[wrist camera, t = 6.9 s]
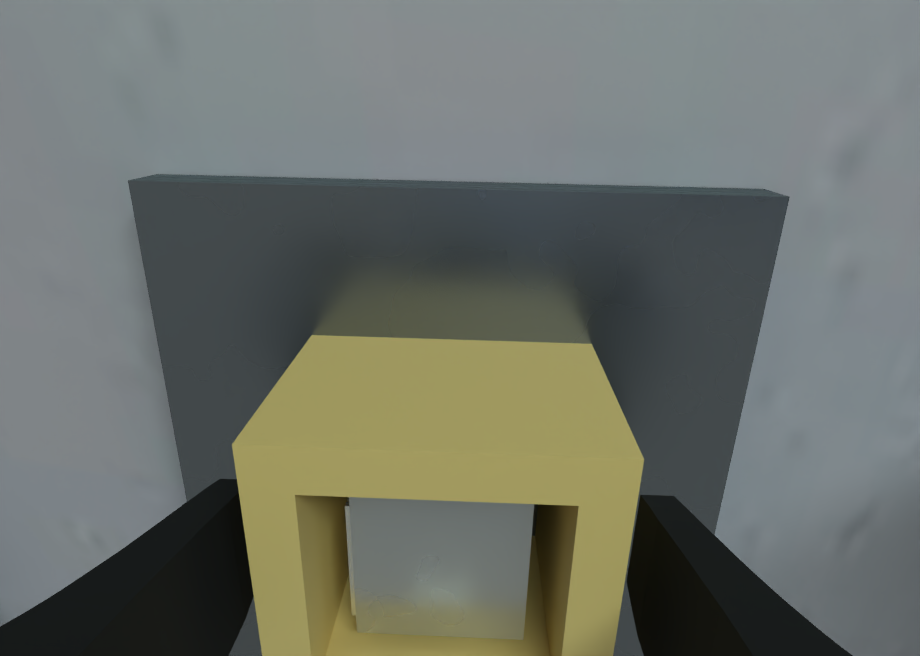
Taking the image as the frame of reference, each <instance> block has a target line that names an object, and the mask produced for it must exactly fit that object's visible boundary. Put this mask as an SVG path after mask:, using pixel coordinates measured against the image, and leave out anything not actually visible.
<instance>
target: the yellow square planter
mask: <svg viewBox="0 0 920 656" xmlns="http://www.w3.org/2000/svg"><path fill="white" fill-rule="evenodd" d="M232 449H233V456H234V463H235V470H236V477H237V484H238V491H239V498H240V505H241V512H242V519H243V525H244V532H245V539H246V546H247V553H248V560H249V567H250V574H251V581H252V588H253V595H254V602H255V609H256V616H257V623H258V630H259V637H260V644H261V651H262V656H613V653H614V647H615V640H616V634H617V628H618V621H619V615H620V609H621V602H622V596H623V590H624V583H625V577H626V571H627V565H628V558H629V552H630V546H631V539H632V533H633V527H634V520H635V514H636V508H637V501H638V495H639V489H640V483H641V476H642V470H643V464H644V458H643V456H642V453H641V451H640V449H639V447H638V445H637V442H636V440H635V438H634V436H633V434H632V431H631V429H630V427H629V425H628V423H627V420H626V418H625V416H624V414H623V412H622V409H621V407H620V405H619V403H618V401H617V398H616V396H615V394H614V392H613V390H612V387H611V385H610V383H609V381H608V379H607V376H606V374H605V372H604V370H603V368H602V365H601V363H600V361H599V359H598V357H597V354H596V352H595V350H594V348H593V346H592V344H581V343H549V342H517V341H485V340H453V339H421V338H389V337H357V336H325V335H311V337H310V338H309V339H308V341H307V342H306V344H305V345H304V346H303V348H302V349H301V350H300V352H299V353H298V355H297V356H296V357H295V359H294V360H293V361H292V363H291V364H290V365H289V367H288V368H287V370H286V371H285V372H284V374H283V375H282V376H281V378H280V379H279V381H278V382H277V383H276V385H275V386H274V387H273V389H272V390H271V391H270V393H269V394H268V396H267V397H266V398H265V400H264V401H263V402H262V404H261V405H260V407H259V408H258V409H257V411H256V412H255V413H254V415H253V416H252V417H251V419H250V420H249V422H248V423H247V424H246V426H245V427H244V428H243V430H242V431H241V433H240V434H239V435H238V437H237V438H236V439H235V441H234V442H233V443H232ZM348 497H361V498H386V499H412V500H438V501H464V502H490V503H516V504H538V509H537V521H536V533H535V536H532V538H531V551H530V563H529V576H528V588H527V601H526V613H525V626H524V638H523V640H516V639H493V638H471V637H448V636H426V635H403V634H381V633H358V632H357V624H356V615H352V609H351V594H350V578H349V563H348V547H347V531H346V516H345V504H346V501H347V498H348Z"/></svg>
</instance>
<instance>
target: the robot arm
mask: <svg viewBox="0 0 920 656" xmlns="http://www.w3.org/2000/svg"><path fill="white" fill-rule="evenodd" d="M626 582H627V587H628V592H629V597H630V602H631V607H632V613H633V617H634V622H635V627H636V631H637V636H638V639H639V642H640V646H641V649H642V652H643V655H644V656H852V655H851V654H849V653H848V652H847V651H845V650H844V649H843V648H841V647H840V646H839V645H838V644H836V643H835V642H834V641H833V640H831V639H830V638H829V637H828V636H826V635H825V634H824V633H823V632H821V631H820V630H819V629H818V628H816V627H815V626H814V625H813V624H812V623H811V622H809V621H808V620H807V619H806V618H805V617H803V616H802V615H801V614H800V613H799V612H798V611H796V610H795V609H794V608H793V607H792V606H790V605H789V604H788V603H787V602H786V601H785V600H783V599H782V598H781V597H780V596H779V595H778V594H777V593H776V592H774V591H773V590H772V589H771V588H770V587H769V586H768V585H767V584H765V583H764V582H763V581H762V580H761V579H760V578H759V577H758V576H757V575H756V574H754V573H753V572H752V571H751V570H750V569H749V568H748V567H747V566H746V565H745V564H744V563H743V562H742V561H741V560H739V559H738V558H737V557H736V556H735V555H734V554H733V553H732V552H731V551H730V550H729V549H728V548H727V547H726V546H725V545H724V544H723V543H722V542H721V541H720V540H719V539H718V538H717V537H716V536H715V535H714V534H713V533H712V532H711V531H710V530H708V529H707V528H706V527H705V526H704V525H703V524H702V523H701V522H700V521H699V520H698V519H697V518H696V517H695V516H694V515H693V514H692V513H691V512H690V511H689V510H688V509H687V508H686V507H685V506H684V505H683V504H682V503H681V502H680V501H679V500H678V499H677V498H676V497H675V496H664V495H640V499H639V506H638V512H637V518H636V524H635V531H634V537H633V543H632V549H631V556H630V562H629V568H628V575H627V581H626ZM253 597H254V595H253V588H252V581H251V574H250V567H249V560H248V553H247V546H246V539H245V532H244V525H243V519H242V512H241V505H240V498H239V491H238V484H237V479H219V480H217V481H216V482H214V483H213V484H211V485H210V486H208V487H207V488H206V489H204V490H203V491H201V492H200V493H199V494H197V495H196V496H194V497H193V498H192V499H190V500H189V501H188V502H186V503H185V504H184V505H182V506H181V507H180V508H178V509H177V510H176V511H174V512H173V513H172V514H170V515H169V516H167V517H166V518H165V519H163V520H162V521H161V522H159V523H158V524H157V525H155V526H154V527H152V528H151V529H150V530H148V531H147V532H145V533H144V534H143V535H141V536H140V537H139V538H137V539H136V540H134V541H133V542H132V543H130V544H129V545H128V546H126V547H125V548H123V549H122V550H121V551H119V552H118V553H116V554H115V555H113V556H112V557H110V558H109V559H107V560H106V561H104V562H103V563H101V564H100V565H98V566H97V567H95V568H94V569H92V570H91V571H89V572H88V573H86V574H85V575H83V576H82V577H80V578H79V579H77V580H76V581H74V582H73V583H71V584H70V585H68V586H67V587H65V588H64V589H62V590H61V591H59V592H58V593H56V594H54V595H53V596H51V597H50V598H48V599H47V600H45V601H43V602H42V603H40V604H38V605H37V606H35V607H33V608H32V609H30V610H28V611H27V612H25V613H23V614H22V615H20V616H18V617H16V618H15V619H13V620H11V621H9V622H8V623H6V624H4V625H3V626H1V627H0V656H229V654H230V651H231V649H232V647H233V645H234V643H235V641H236V639H237V637H238V635H239V632H240V630H241V628H242V626H243V624H244V622H245V619H246V617H247V614H248V611H249V608H250V605H251V602H252V600H253Z"/></svg>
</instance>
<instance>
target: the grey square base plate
mask: <svg viewBox="0 0 920 656" xmlns="http://www.w3.org/2000/svg"><path fill="white" fill-rule="evenodd" d="M128 183H129V189H130V194H131V200H132V205H133V211H134V216H135V221H136V227H137V232H138V238H139V243H140V249H141V254H142V259H143V265H144V270H145V276H146V281H147V287H148V292H149V297H150V303H151V308H152V314H153V319H154V325H155V330H156V335H157V341H158V346H159V352H160V357H161V363H162V368H163V373H164V379H165V384H166V390H167V395H168V401H169V406H170V411H171V417H172V422H173V428H174V433H175V439H176V444H177V450H178V455H179V460H180V466H181V471H182V477H183V482H184V488H185V493H186V498H187V502H188V501H189V500H190V499H192V498H193V497H194V496H196V495H197V494H199V493H200V492H201V491H203V490H204V489H206V488H207V487H208V486H210V485H211V484H213V483H214V482H216V481H217V480H219V479H237V477H236V470H235V463H234V456H233V449H232V443H233V442H234V441H235V439H236V438H237V437H238V435H239V434H240V433H241V431H242V430H243V428H244V427H245V426H246V424H247V423H248V422H249V420H250V419H251V417H252V416H253V415H254V413H255V412H256V411H257V409H258V408H259V407H260V405H261V404H262V402H263V401H264V400H265V398H266V397H267V396H268V394H269V393H270V391H271V390H272V389H273V387H274V386H275V385H276V383H277V382H278V381H279V379H280V378H281V376H282V375H283V374H284V372H285V371H286V370H287V368H288V367H289V365H290V364H291V363H292V361H293V360H294V359H295V357H296V356H297V355H298V353H299V352H300V350H301V349H302V348H303V346H304V345H305V344H306V342H307V341H308V339H309V338H310V337H311V335H325V336H357V337H389V338H421V339H453V340H485V341H517V342H549V343H581V344H592V346H593V348H594V350H595V352H596V354H597V357H598V359H599V361H600V363H601V365H602V368H603V370H604V372H605V374H606V376H607V379H608V381H609V383H610V385H611V387H612V390H613V392H614V394H615V396H616V398H617V401H618V403H619V405H620V407H621V409H622V412H623V414H624V416H625V418H626V420H627V423H628V425H629V427H630V429H631V431H632V434H633V436H634V438H635V440H636V442H637V445H638V447H639V449H640V451H641V453H642V456H643V458H644V464H643V470H642V476H641V483H640V489H639V495H638V501H637V508H636V514H635V520H634V527H633V533H632V539H631V546H630V552H629V558H628V565H627V571H626V577H625V583H624V590H623V596H622V602H621V609H620V615H619V621H618V628H617V634H616V640H615V647H614V653H613V656H644V655H643V652H642V649H641V646H640V642H639V639H638V636H637V631H636V627H635V622H634V617H633V613H632V607H631V602H630V597H629V592H628V587H627V582H626V581H627V575H628V568H629V562H630V556H631V549H632V543H633V537H634V531H635V524H636V518H637V512H638V506H639V499H640V495H664V496H675V497H676V498H677V499H678V500H679V501H680V502H681V503H682V504H683V505H684V506H685V507H686V508H687V509H688V510H689V511H690V512H691V513H692V514H693V515H694V516H695V517H696V518H697V519H698V520H699V521H700V522H701V523H702V524H703V525H704V526H705V527H706V528H707V529H708V530H710V531H711V532H712V533H713V534H715V529H716V525H717V520H718V516H719V511H720V507H721V502H722V498H723V493H724V489H725V484H726V480H727V475H728V471H729V466H730V462H731V457H732V453H733V448H734V444H735V439H736V435H737V430H738V426H739V421H740V417H741V412H742V408H743V403H744V399H745V394H746V390H747V385H748V381H749V376H750V372H751V367H752V363H753V358H754V354H755V349H756V345H757V341H758V336H759V332H760V327H761V323H762V318H763V314H764V309H765V305H766V300H767V296H768V291H769V287H770V282H771V278H772V273H773V269H774V264H775V260H776V255H777V251H778V246H779V242H780V237H781V233H782V228H783V224H784V219H785V215H786V210H787V206H788V201H789V197H788V196H785V195H782V194H778V193H775V192H772V191H769V190H765V189H738V188H697V187H656V186H615V185H574V184H533V183H492V182H451V181H410V180H368V179H327V178H286V177H245V176H204V175H163V174H156V175H151V176H147V177H142V178H138V179H133V180H129V181H128ZM537 509H538V504H516V503H490V502H464V501H438V500H412V499H386V498H361V497H348V498H347V501H346V504H345V516H346V531H347V547H348V563H349V578H350V594H351V609H352V615H356V624H357V632H358V633H381V634H403V635H426V636H448V637H471V638H493V639H516V640H523V638H524V626H525V613H526V601H527V588H528V576H529V563H530V551H531V538H532V536H535V533H536V521H537ZM229 656H262V651H261V644H260V637H259V630H258V623H257V616H256V609H255V602H254V597H253V600H252V602H251V605H250V608H249V611H248V614H247V617H246V619H245V622H244V624H243V626H242V628H241V630H240V632H239V635H238V637H237V639H236V641H235V643H234V645H233V647H232V649H231V651H230V654H229Z"/></svg>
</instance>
